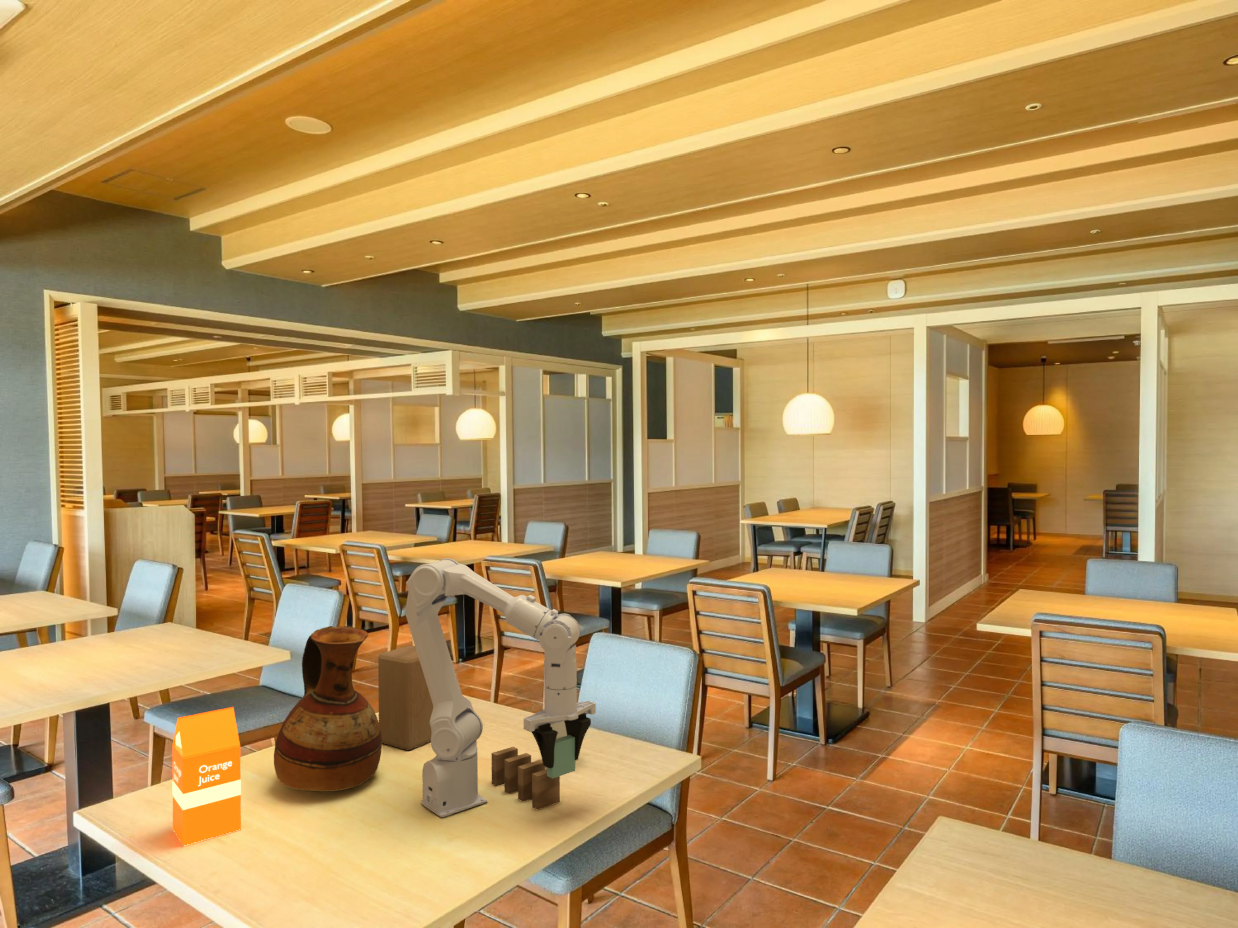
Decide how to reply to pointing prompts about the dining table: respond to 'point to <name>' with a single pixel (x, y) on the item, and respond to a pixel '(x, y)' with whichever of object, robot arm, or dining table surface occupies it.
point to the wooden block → (403, 699)
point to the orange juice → (206, 776)
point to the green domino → (563, 757)
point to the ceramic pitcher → (329, 720)
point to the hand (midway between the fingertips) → (560, 762)
